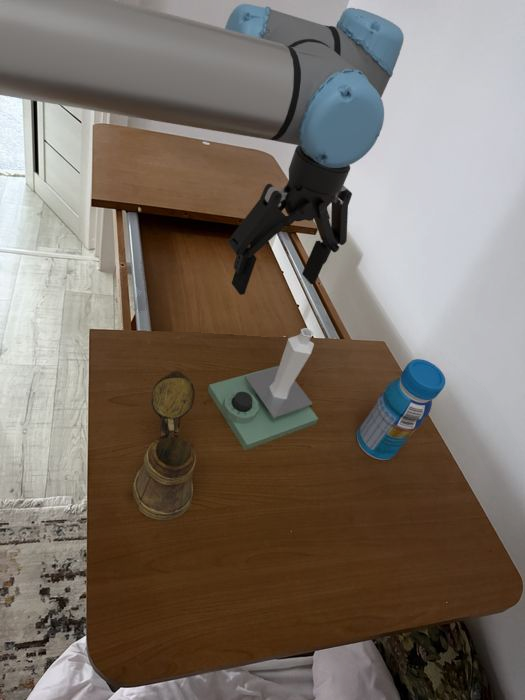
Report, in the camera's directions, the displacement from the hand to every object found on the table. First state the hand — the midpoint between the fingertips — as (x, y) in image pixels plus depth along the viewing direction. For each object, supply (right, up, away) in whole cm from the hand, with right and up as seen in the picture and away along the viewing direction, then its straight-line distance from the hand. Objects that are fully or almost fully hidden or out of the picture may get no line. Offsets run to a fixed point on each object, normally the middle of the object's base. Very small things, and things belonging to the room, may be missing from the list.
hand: (274, 283), depth 79 cm
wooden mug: (-18, -30, -1) cm, 35 cm away
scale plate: (+1, -18, +14) cm, 23 cm away
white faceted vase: (+1, -18, +14) cm, 23 cm away
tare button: (-6, -20, +10) cm, 23 cm away
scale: (-2, -21, +15) cm, 26 cm away
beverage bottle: (+19, -28, +17) cm, 38 cm away
